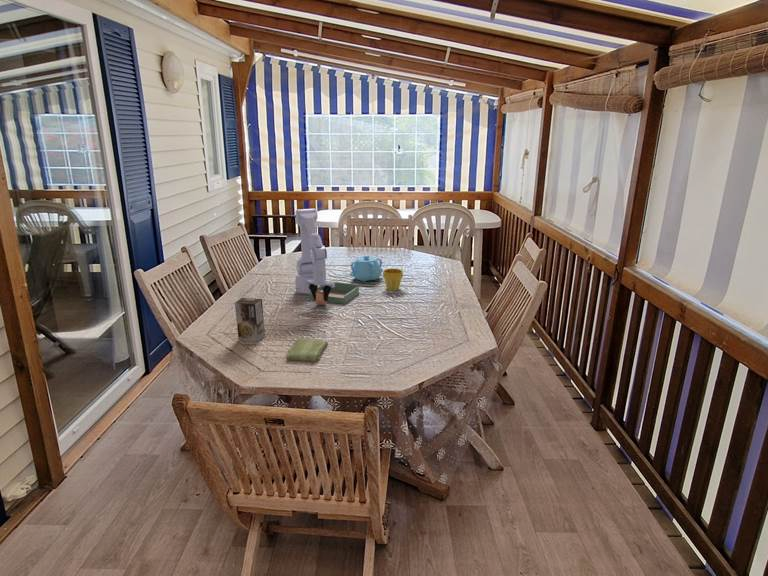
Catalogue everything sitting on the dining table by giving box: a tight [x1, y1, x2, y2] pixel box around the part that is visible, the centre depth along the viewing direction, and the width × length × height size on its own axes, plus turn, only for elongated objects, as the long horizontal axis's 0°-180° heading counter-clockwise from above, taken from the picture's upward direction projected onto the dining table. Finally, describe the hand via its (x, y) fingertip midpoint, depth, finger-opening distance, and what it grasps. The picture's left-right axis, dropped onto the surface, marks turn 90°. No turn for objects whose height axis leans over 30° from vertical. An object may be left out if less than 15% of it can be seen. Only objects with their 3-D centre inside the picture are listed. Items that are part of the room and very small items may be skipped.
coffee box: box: [234, 297, 266, 342], centre depth 202 cm, size 9×6×16 cm
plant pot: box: [382, 268, 404, 291], centre depth 266 cm, size 10×10×10 cm
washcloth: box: [285, 337, 328, 363], centre depth 191 cm, size 13×18×3 cm
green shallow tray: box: [309, 280, 360, 305], centre depth 254 cm, size 19×17×5 cm
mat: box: [304, 300, 337, 312], centre depth 241 cm, size 12×10×1 cm
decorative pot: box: [349, 254, 384, 283], centre depth 283 cm, size 16×16×14 cm
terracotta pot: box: [315, 290, 328, 305], centre depth 240 cm, size 5×5×6 cm
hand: (320, 300), depth 240 cm, fingers closed on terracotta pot, 5 cm apart
